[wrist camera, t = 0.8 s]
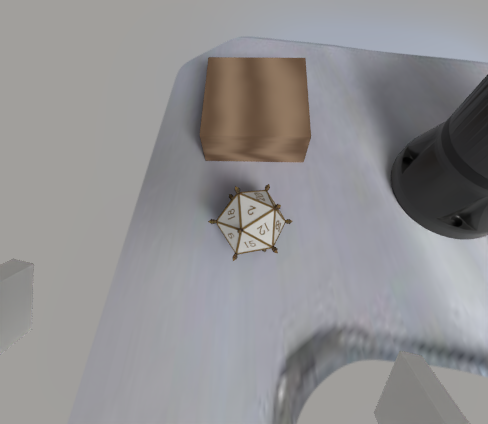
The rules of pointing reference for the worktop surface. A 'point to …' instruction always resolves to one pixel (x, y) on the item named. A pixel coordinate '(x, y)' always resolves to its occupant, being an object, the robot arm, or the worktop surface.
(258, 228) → the game die
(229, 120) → the walnut block
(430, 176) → the robot arm
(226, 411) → the worktop surface
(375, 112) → the worktop surface
